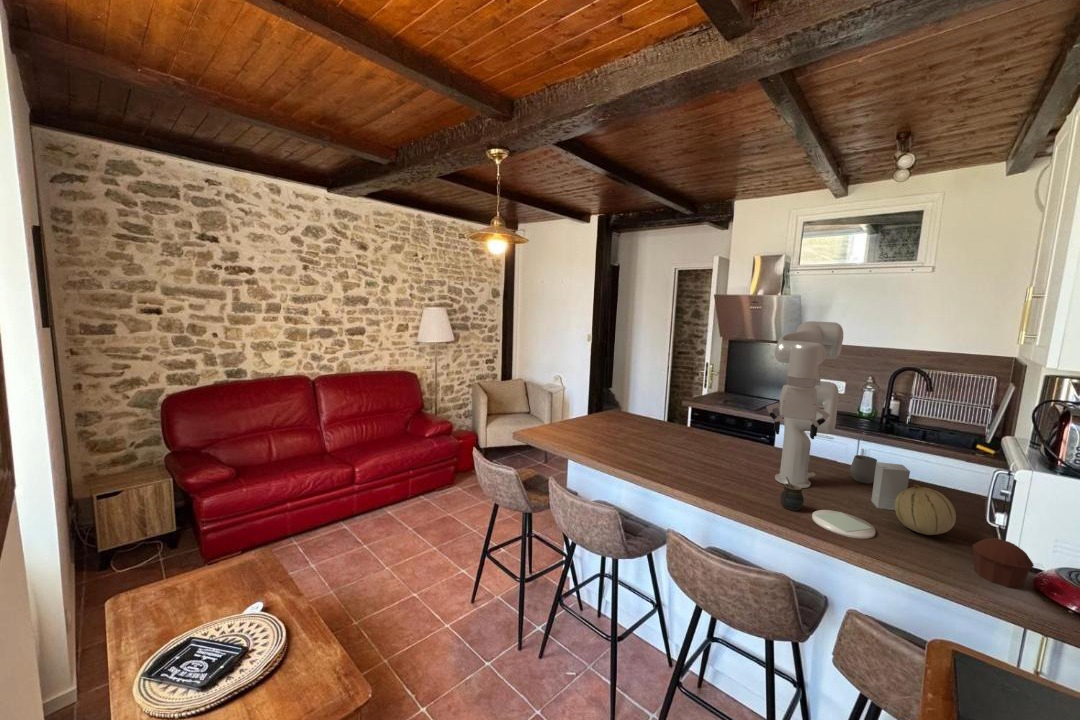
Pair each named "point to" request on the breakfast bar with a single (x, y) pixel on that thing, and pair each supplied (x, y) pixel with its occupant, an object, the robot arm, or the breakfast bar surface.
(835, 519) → the stand
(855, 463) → the cup
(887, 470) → the skincare box
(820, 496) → the breakfast bar surface
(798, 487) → the mate gourd
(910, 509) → the cantaloupe
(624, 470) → the breakfast bar surface
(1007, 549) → the muffin
